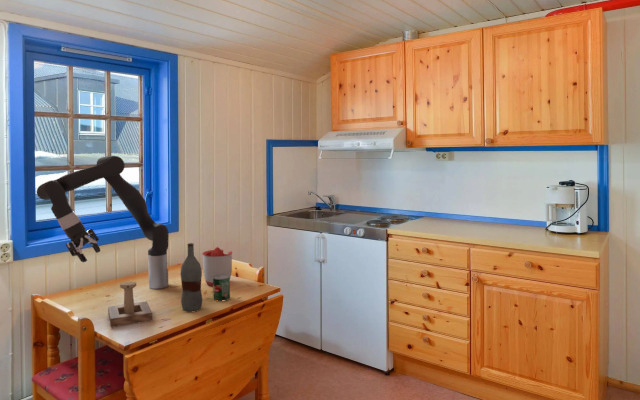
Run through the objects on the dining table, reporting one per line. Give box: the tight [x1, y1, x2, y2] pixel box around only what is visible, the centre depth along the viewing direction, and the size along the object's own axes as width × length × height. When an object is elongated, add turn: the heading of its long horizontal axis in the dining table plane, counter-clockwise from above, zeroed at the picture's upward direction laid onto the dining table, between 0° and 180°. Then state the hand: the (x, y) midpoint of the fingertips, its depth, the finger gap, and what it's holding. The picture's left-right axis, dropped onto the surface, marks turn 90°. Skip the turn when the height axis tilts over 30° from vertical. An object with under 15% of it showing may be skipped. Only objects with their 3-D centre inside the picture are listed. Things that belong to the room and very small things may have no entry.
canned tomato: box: [212, 274, 231, 302], centre depth 223 cm, size 8×8×11 cm
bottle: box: [180, 242, 203, 313], centre depth 208 cm, size 9×9×30 cm
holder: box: [107, 301, 153, 328], centre depth 198 cm, size 16×16×4 cm
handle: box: [119, 281, 137, 314], centre depth 197 cm, size 5×6×15 cm
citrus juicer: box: [201, 246, 233, 287], centre depth 248 cm, size 16×17×20 cm
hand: (92, 256), depth 200 cm, fingers open, 8 cm apart
